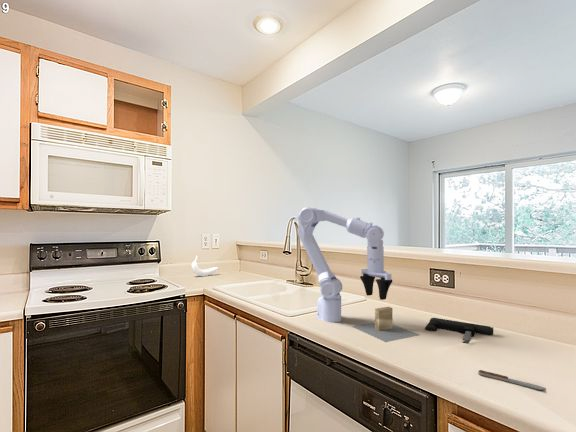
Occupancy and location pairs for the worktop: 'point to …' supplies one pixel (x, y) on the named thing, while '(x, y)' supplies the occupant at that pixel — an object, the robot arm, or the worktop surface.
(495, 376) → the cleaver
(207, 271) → the banana
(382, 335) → the mat
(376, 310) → the wooden block
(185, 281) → the worktop surface
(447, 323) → the black toy gun
